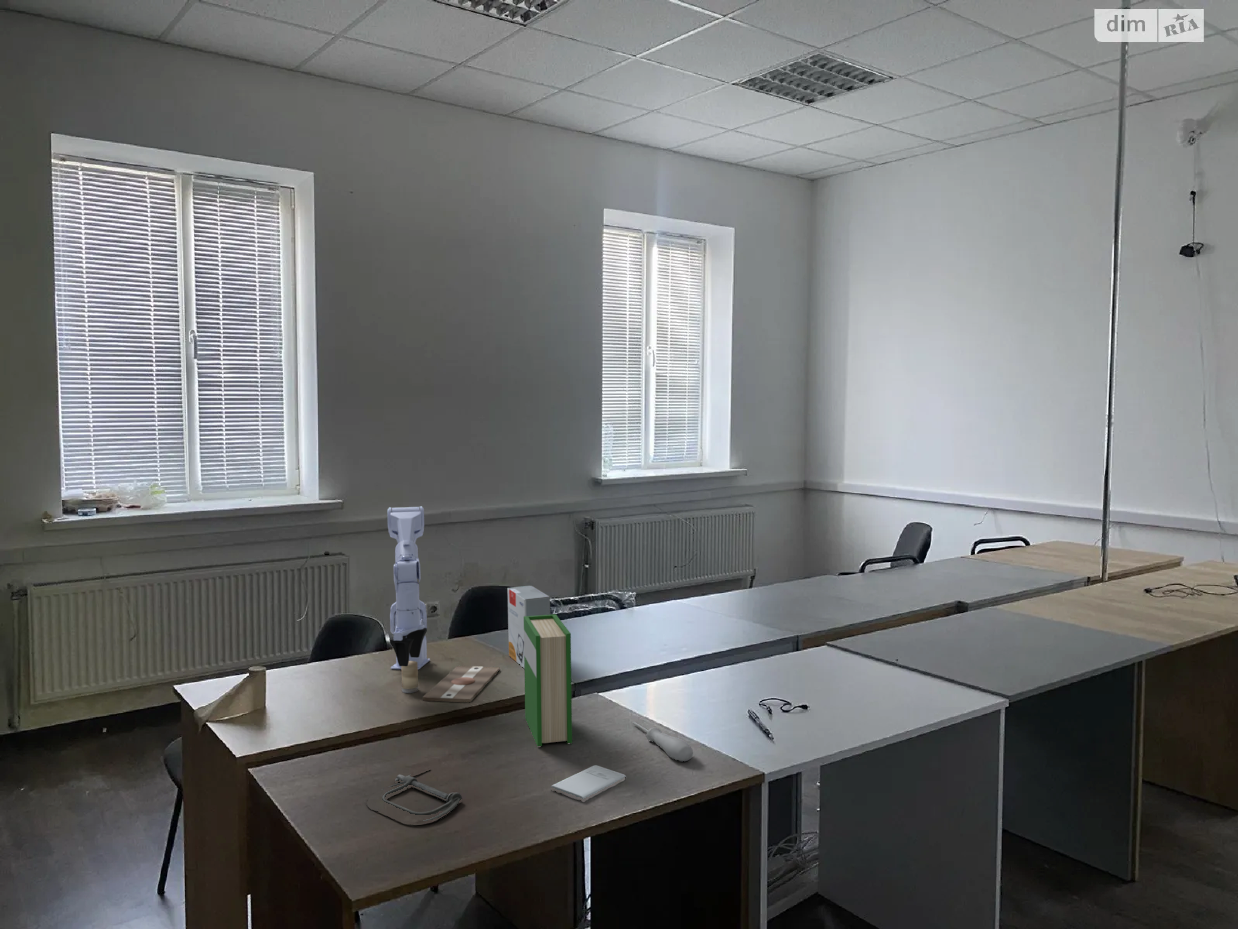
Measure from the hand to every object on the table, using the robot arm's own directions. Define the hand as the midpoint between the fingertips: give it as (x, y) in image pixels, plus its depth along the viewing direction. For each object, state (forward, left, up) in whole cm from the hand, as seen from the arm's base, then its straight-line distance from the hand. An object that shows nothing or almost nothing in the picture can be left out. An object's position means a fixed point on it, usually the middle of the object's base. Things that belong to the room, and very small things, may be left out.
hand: (409, 661), depth 227 cm
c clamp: (+59, +25, -8) cm, 65 cm away
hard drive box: (-28, +24, -8) cm, 38 cm away
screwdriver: (+27, +66, -8) cm, 72 cm away
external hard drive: (+49, +55, -8) cm, 74 cm away
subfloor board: (-6, +12, -8) cm, 15 cm away
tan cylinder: (0, 0, -8) cm, 8 cm away
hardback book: (+23, +41, -8) cm, 48 cm away
